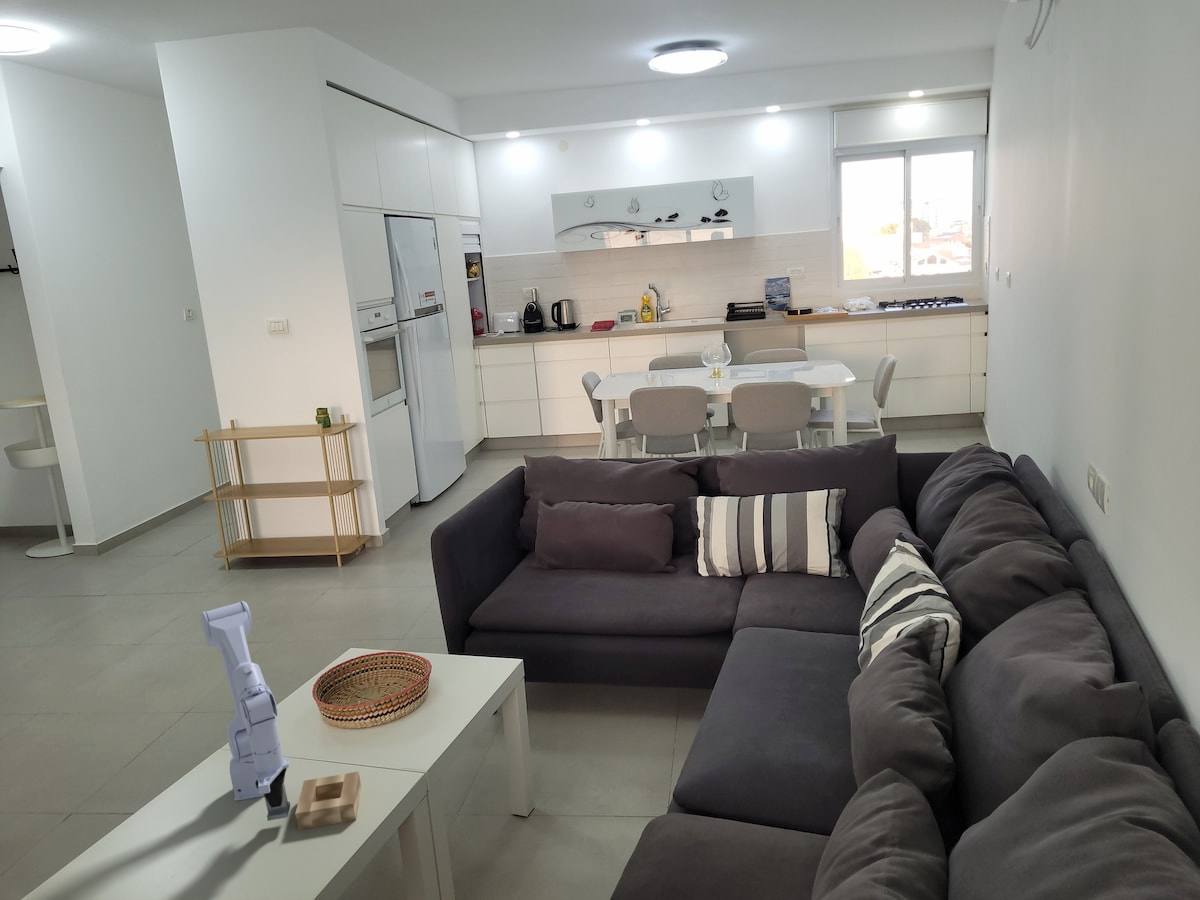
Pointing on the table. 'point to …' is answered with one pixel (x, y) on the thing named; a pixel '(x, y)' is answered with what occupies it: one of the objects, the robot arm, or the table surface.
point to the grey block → (281, 810)
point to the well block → (328, 800)
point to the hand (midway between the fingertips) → (277, 802)
